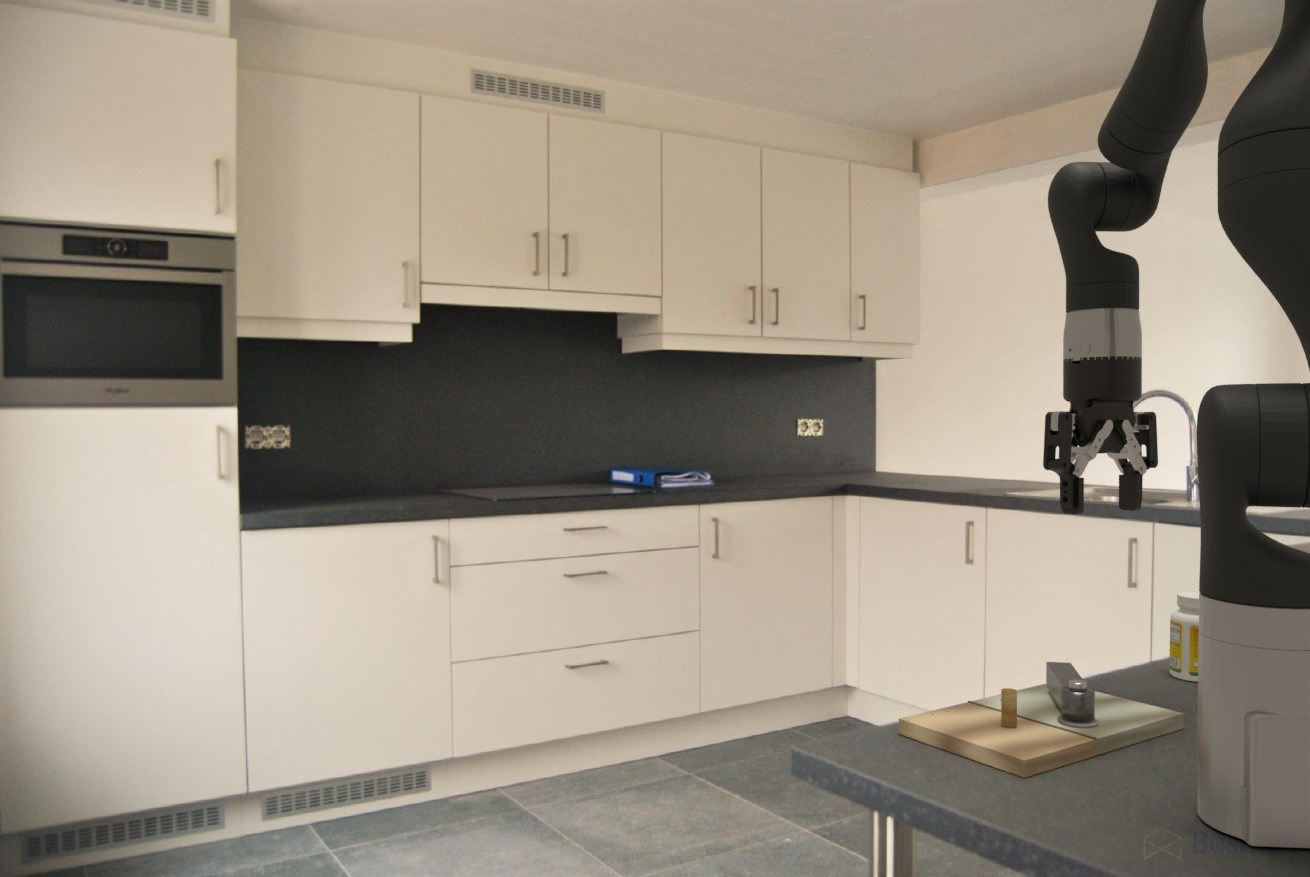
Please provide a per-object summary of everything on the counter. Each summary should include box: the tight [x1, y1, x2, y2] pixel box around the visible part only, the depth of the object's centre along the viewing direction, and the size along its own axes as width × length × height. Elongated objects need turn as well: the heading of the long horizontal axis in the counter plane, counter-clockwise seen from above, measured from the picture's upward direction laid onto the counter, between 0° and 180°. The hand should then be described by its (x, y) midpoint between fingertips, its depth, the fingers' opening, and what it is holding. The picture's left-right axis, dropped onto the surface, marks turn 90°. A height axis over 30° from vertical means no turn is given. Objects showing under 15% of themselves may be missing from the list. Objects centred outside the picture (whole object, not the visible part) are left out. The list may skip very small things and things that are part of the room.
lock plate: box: [898, 683, 1184, 779], centre depth 102 cm, size 14×24×5 cm, turn 123°
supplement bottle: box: [1168, 591, 1200, 683], centre depth 121 cm, size 5×5×10 cm
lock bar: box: [1045, 661, 1096, 721], centre depth 104 cm, size 12×3×3 cm, turn 168°
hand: (1101, 511), depth 109 cm, fingers open, 8 cm apart
